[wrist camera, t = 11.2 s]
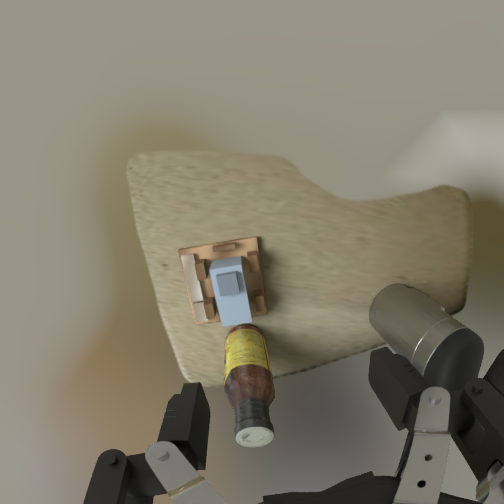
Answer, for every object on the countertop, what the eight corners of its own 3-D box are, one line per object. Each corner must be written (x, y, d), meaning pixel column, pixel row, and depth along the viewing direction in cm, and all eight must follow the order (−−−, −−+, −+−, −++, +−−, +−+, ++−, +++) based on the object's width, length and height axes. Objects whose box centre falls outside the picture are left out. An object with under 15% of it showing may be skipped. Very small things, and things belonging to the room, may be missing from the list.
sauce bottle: (217, 334, 41) (206, 430, 22) (251, 315, 41) (261, 408, 21) (240, 362, 43) (243, 458, 23) (273, 345, 42) (293, 439, 23)
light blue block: (240, 255, 38) (241, 266, 32) (250, 308, 39) (252, 325, 34) (212, 260, 38) (208, 272, 32) (224, 312, 39) (222, 330, 34)
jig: (256, 236, 38) (257, 240, 35) (267, 310, 41) (269, 321, 37) (179, 248, 38) (174, 254, 35) (196, 320, 41) (193, 331, 37)
